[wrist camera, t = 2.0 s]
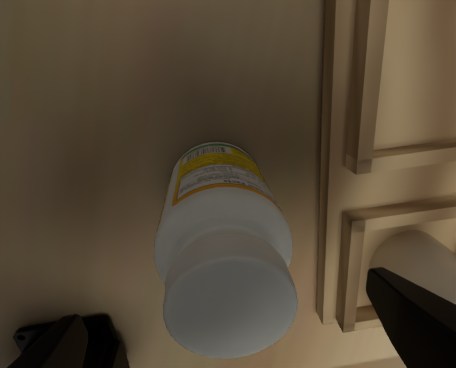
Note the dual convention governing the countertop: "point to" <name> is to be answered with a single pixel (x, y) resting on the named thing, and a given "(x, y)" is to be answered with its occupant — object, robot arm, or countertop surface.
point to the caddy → (383, 141)
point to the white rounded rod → (419, 262)
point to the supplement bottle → (224, 255)
